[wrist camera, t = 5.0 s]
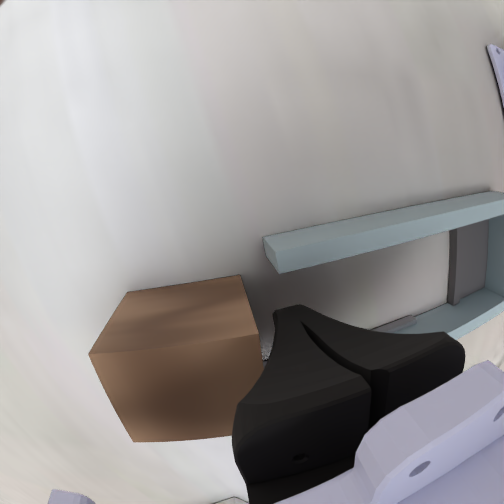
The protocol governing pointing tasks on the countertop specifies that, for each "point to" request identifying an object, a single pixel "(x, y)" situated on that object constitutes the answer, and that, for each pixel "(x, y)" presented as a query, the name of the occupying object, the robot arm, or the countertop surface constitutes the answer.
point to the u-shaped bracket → (411, 228)
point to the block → (179, 359)
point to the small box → (232, 501)
